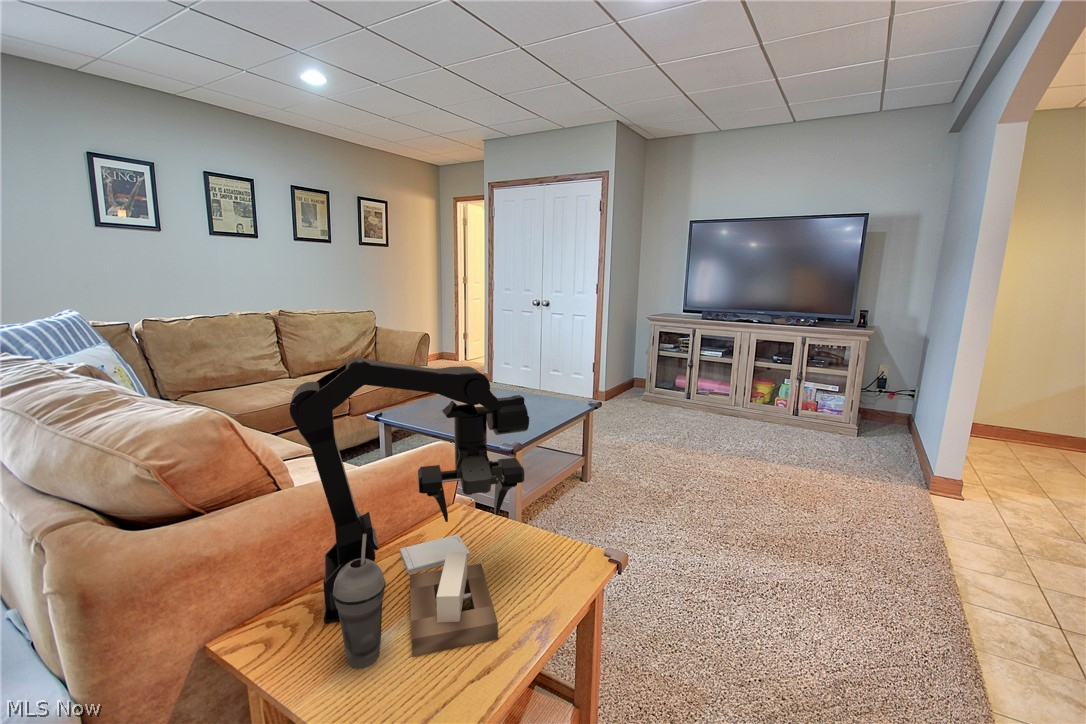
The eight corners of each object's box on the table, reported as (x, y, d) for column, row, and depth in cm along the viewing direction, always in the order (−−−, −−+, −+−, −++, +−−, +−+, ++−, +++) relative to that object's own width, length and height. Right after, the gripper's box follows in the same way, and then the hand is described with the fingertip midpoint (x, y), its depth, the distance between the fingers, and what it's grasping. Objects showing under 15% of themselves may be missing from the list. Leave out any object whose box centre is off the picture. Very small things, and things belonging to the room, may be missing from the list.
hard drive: (457, 533, 104) (399, 547, 98) (470, 552, 97) (408, 568, 91) (458, 540, 104) (399, 554, 99) (470, 560, 97) (408, 576, 91)
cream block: (437, 622, 75) (436, 596, 74) (447, 574, 87) (447, 551, 86) (459, 621, 75) (459, 596, 74) (467, 574, 87) (467, 551, 86)
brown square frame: (412, 656, 72) (411, 639, 71) (410, 589, 87) (409, 574, 86) (497, 639, 76) (497, 622, 75) (481, 577, 91) (481, 563, 90)
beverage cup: (350, 637, 75) (342, 520, 72) (395, 639, 75) (390, 522, 72) (328, 675, 68) (318, 547, 65) (378, 677, 68) (371, 549, 64)
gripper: (419, 459, 76) (422, 549, 79) (532, 448, 81) (531, 533, 84) (416, 436, 86) (419, 516, 89) (517, 428, 92) (516, 504, 94)
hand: (471, 517), depth 89 cm, fingers open, 9 cm apart
